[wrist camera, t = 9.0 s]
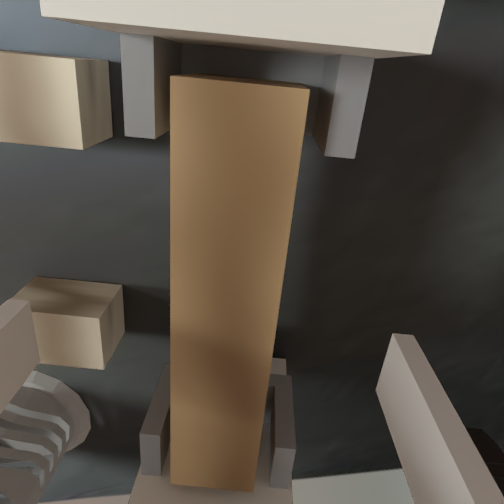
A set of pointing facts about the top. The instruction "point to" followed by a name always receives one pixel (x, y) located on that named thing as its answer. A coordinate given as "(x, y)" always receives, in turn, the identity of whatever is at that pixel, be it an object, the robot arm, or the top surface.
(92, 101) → the spacers
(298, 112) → the rail
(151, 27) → the brackets
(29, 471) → the french press
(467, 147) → the top surface
